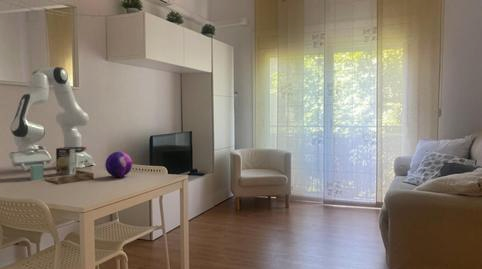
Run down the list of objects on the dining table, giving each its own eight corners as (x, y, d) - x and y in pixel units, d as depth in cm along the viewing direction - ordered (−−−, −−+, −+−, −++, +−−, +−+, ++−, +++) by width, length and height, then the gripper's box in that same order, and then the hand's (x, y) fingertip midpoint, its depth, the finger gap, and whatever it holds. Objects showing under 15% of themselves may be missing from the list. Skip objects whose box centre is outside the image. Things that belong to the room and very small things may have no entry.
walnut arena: (78, 175, 218) (78, 169, 218) (93, 179, 208) (93, 173, 207) (44, 180, 203) (44, 174, 203) (59, 184, 192) (59, 177, 192)
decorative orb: (121, 173, 226) (121, 149, 225) (137, 176, 217) (137, 151, 216) (100, 177, 213) (99, 152, 213) (116, 180, 205) (115, 153, 204)
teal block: (40, 178, 210) (39, 164, 209) (43, 178, 207) (42, 165, 207) (30, 179, 206) (30, 165, 205) (33, 180, 203) (33, 166, 203)
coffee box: (55, 174, 222) (55, 148, 221) (61, 172, 228) (61, 147, 227) (70, 174, 221) (69, 148, 220) (75, 173, 227) (75, 147, 226)
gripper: (9, 148, 202) (17, 168, 196) (47, 146, 218) (55, 164, 213) (6, 156, 205) (13, 175, 199) (44, 153, 221) (52, 171, 215)
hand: (35, 169), depth 206 cm, fingers open, 8 cm apart
